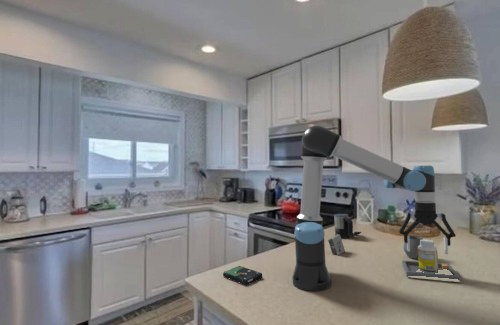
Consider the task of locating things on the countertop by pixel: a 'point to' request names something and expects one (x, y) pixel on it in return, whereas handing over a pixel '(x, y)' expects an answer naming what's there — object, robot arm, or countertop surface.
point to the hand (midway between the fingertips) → (426, 252)
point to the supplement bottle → (427, 256)
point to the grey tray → (413, 266)
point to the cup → (413, 247)
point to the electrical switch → (336, 245)
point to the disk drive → (243, 275)
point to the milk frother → (344, 226)
